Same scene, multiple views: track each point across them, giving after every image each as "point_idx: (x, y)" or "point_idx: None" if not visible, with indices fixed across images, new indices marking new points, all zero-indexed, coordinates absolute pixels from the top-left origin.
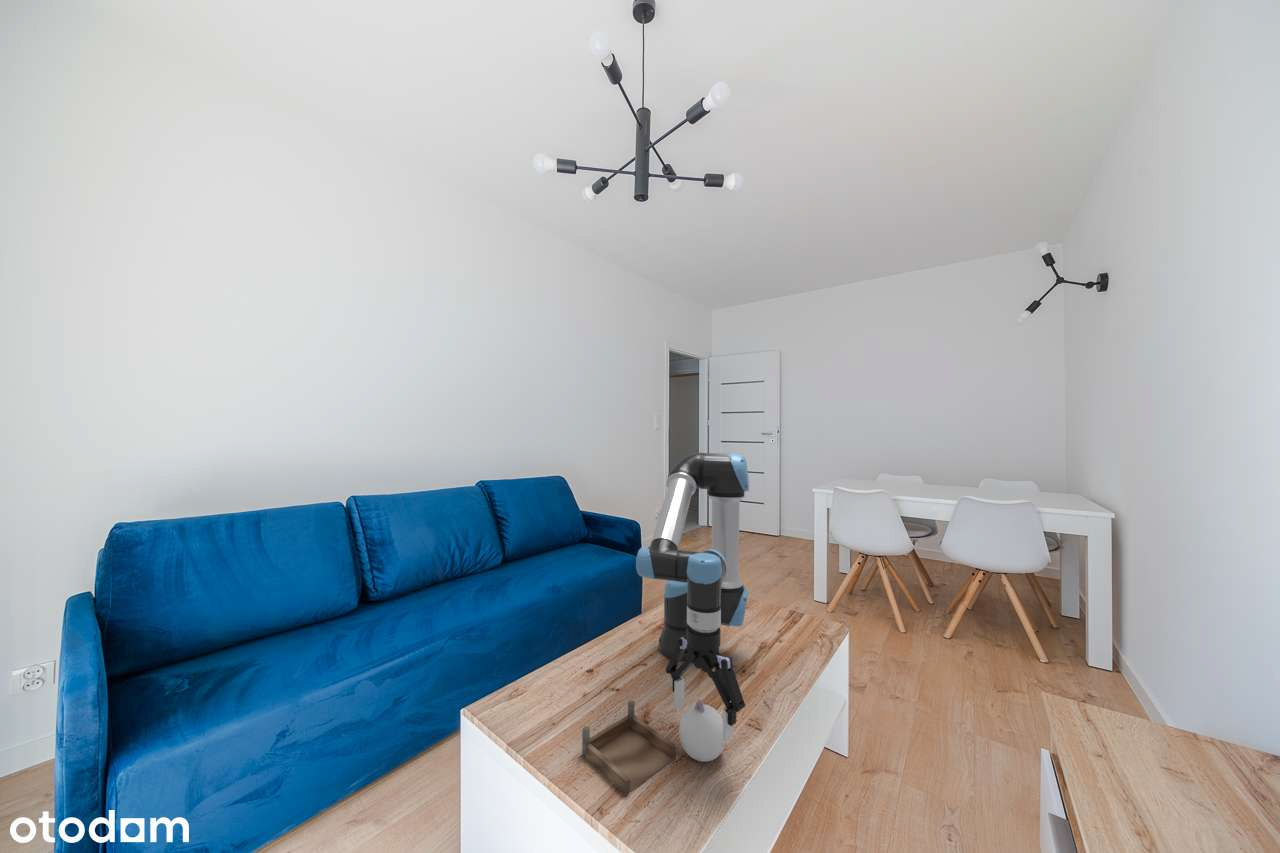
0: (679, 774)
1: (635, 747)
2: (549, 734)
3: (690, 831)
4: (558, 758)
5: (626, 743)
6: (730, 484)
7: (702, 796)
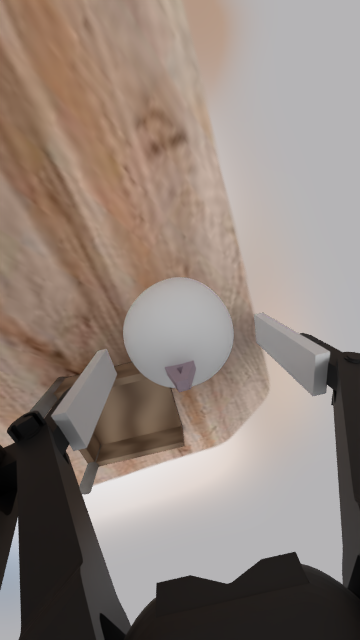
0: None
1: (114, 396)
2: None
3: (258, 392)
4: None
5: None
6: None
7: (234, 358)
